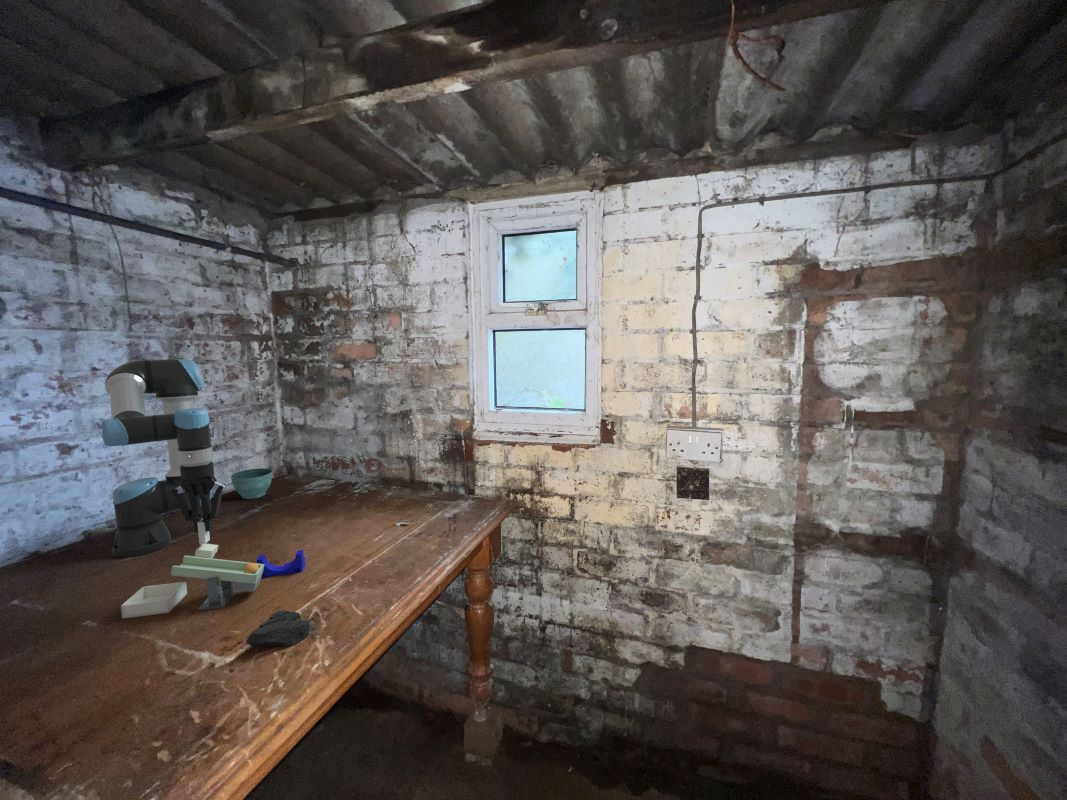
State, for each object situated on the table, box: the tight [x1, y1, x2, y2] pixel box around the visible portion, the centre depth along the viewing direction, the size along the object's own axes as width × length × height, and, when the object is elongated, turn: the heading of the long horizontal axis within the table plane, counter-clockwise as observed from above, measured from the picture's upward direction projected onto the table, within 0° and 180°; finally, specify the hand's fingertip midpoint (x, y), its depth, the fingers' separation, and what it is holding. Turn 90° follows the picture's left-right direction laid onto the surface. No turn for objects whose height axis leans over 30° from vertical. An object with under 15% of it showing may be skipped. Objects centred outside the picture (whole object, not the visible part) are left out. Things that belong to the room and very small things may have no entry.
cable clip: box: [255, 549, 306, 579], centre depth 133 cm, size 12×4×6 cm, turn 108°
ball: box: [244, 562, 259, 574], centre depth 121 cm, size 4×4×4 cm
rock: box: [246, 609, 311, 648], centre depth 102 cm, size 10×6×10 cm
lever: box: [170, 543, 265, 593], centre depth 123 cm, size 20×14×5 cm
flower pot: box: [230, 467, 273, 500], centre depth 199 cm, size 16×16×11 cm
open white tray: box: [120, 581, 188, 620], centre depth 116 cm, size 10×9×4 cm
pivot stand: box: [198, 577, 238, 611], centre depth 119 cm, size 6×11×8 cm, turn 14°
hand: (204, 541), depth 125 cm, fingers closed
